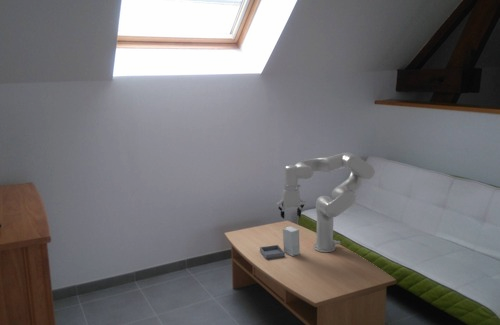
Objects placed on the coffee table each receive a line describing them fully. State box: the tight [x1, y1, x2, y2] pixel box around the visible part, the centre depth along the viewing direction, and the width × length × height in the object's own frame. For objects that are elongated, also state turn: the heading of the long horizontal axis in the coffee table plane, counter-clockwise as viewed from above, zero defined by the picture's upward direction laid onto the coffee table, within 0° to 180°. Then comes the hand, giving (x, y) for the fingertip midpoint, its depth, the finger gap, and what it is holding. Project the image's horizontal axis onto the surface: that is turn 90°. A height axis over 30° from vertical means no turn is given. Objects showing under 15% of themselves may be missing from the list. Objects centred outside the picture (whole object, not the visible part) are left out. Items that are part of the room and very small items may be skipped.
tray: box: [259, 244, 285, 260], centre depth 241 cm, size 11×11×3 cm
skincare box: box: [282, 225, 301, 257], centre depth 241 cm, size 8×6×15 cm
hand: (290, 216), depth 237 cm, fingers open, 9 cm apart
